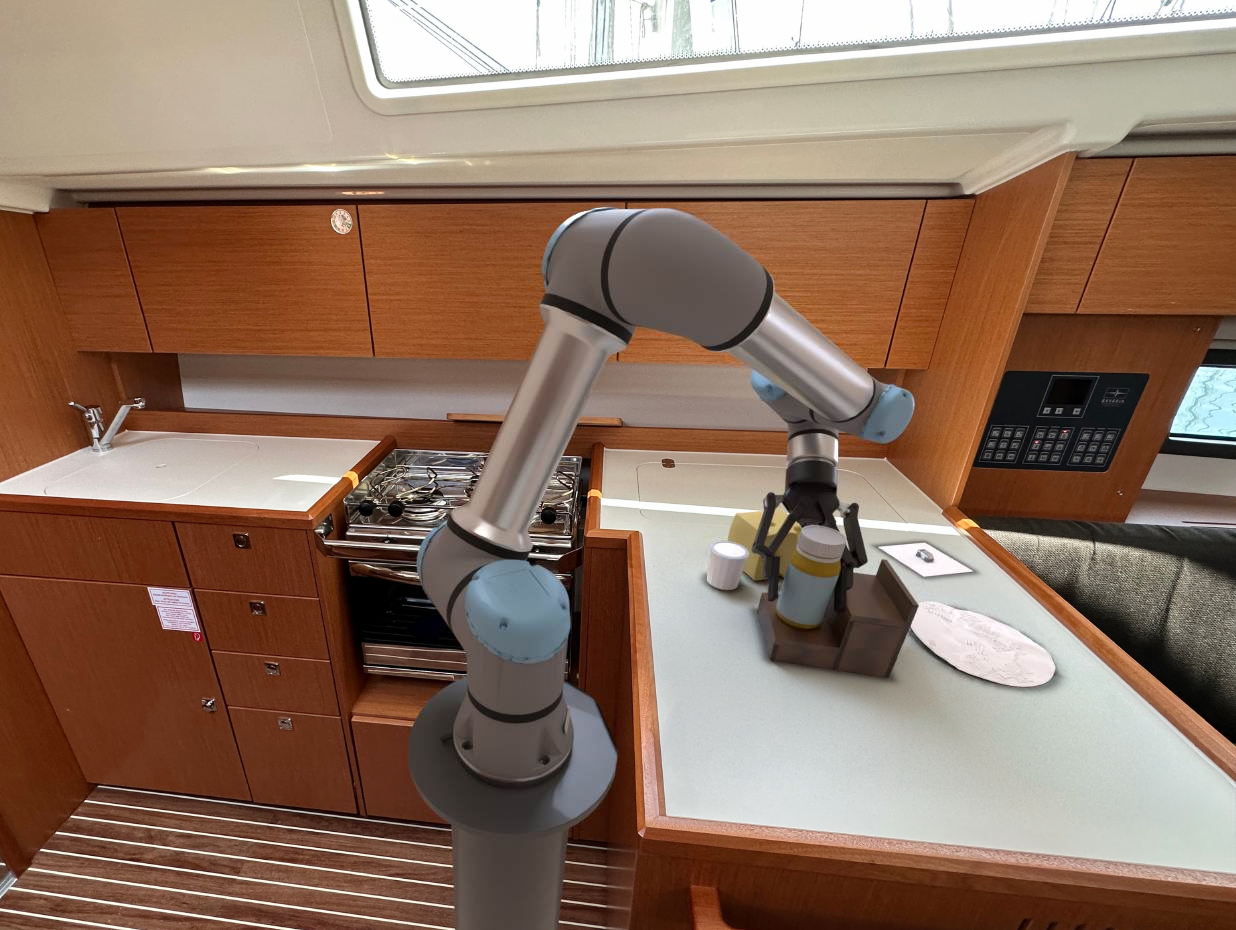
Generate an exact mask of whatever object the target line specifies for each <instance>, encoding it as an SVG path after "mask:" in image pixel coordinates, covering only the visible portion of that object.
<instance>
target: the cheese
mask: <svg viewBox="0 0 1236 930" xmlns="http://www.w3.org/2000/svg"><path fill="white" fill-rule="evenodd" d="M763 512H764V510H758V511H748V512H736V513H735V515H734V517H733V519H732V523H731V524H730V528H729V531H728V537H727V541H730V542H734V543H738V544H740V545H742V546H744V547H745V548H746V549H748V551H749V556H748V559H747V561H746V564H745V567H744V570H743V572H744V573H745V574H746V575H747V576H749V577H750V579H752V580H753V581H754V582H755V581H762V580H764V581H765V580H769V578H764V577H763V575H762V574H763V559H762V556H761V555H759V554H755V553H753V552H752V551H751V549H752V546H753V543H754V539H755V536H756V533H757V530H758V527H759V524H760V521H761V518H762V515H763ZM788 515H789V513H788V512H786V511H784V510H783V509H781V508H780V507H777V508H776V509H775V512H774V515H773V519H772V522H771V525H770V528H769V531H768V534H767V537H766V540H765V543H764V545H765V546H767V547H768V546H769V544H770V543H771V541H772V540H773V538H774V537H775V535H776V534H777V532H778V531H779V529H780V528H781V526H782V524H783V523H784V521H785V519H786V518H787V516H788ZM801 530H802V527H801V525H800V524H799V523H797V522H795V523H794V525H793V527H792V528H791V530H790V531H789V533H788V534H787V536H786V537H785V539H784V540H783V542H782V543H781V545H780V546H779V548H778V549H777V551H776V553H775V554H774V556H780V570H779V577H782V578H785V574H786V570H787V567H788V563H789V560H790V557H791V554H792V553H793V552H794V550H795V549H796V547H797V544H798V539H799V536H800V532H801Z"/></svg>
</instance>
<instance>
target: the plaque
mask: <svg viewBox="0 0 1236 930" xmlns="http://www.w3.org/2000/svg"><path fill="white" fill-rule="evenodd" d="M918 605H919V607H918V609H917V612H916V614H915V617H914V619H913V621H912V624H911V626H910V629H911V630H912V631H913V633H914V634H915V635H916V636H917V637H918V639H919V640H920V641H921V642H922V643H923V644H924V645H925V646H926V647H927V648H929V650H931V651H932V652H933V653H934V654H935V655H936V656H939V657H940V658H942V659H943V660H944V661H946V662H948V663H949V664H950V665H952V666H954V667H955V668H956V669H957V670H959V671H962V672H964V673H967V674H969V675H972V676H974V677H979V678H981V679H983V680H988V681H990V682H994V683H997V684H1001V685H1006V686H1009V687H1010V686H1011V687H1021V688H1022V687H1023V688H1024V687H1025V688H1027V687H1037V686H1042V685H1044V684H1046V683H1048V682H1049V681H1051V679H1053V676H1054V673H1055V672H1056V665H1055V662H1054V661H1053V660H1054V659H1053V658H1052V655H1051V654H1050V653H1049V652H1048V651H1047V650H1046V649H1045V648H1044V647H1042V646H1041V645H1039V644H1038V643H1036V642H1034V640H1032V639H1031V638H1029V637H1027V636H1026V635H1024V634H1023V633H1021V632H1020V631H1019V630H1017V629H1015V628H1013V627H1011V626H1009V625H1007V624H1005V623H1002V622H1001V621H998V620H995V619H994V618H991V617H988V616H986V615H984V614H981V613H978V612H975V611H971V610H964V609H958V608H955V607H953V606H949V605H946V604H943V603H942V602H939V601H922V602H919V603H918Z"/></svg>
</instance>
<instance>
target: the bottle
mask: <svg viewBox="0 0 1236 930" xmlns="http://www.w3.org/2000/svg"><path fill="white" fill-rule="evenodd" d="M845 545H847V538H846V535H844V533H842V532H838V531H836V530H834V529H831V528H828V527H824V526H817V525H810V526H805V527H803V528H802V530H801V532H800V536H799V539H798V544H797V547H796V549H795V550H794V552H793V553H792V554H791V557H790V560H789V563H788V567H787V570H786V574H785V577H783V581H782V584H781V588H780V591H779V594H778V595H779V599H778V602H777V607H776V612H777V614H778V616H779V617H780V619H781V620H782V621H783V622H785V623H786V624H788V625H790V626H792V627H795V628H799V629H805V630H808V629H814V628H817V627H819V626H821V625H822V623H823V621H824V619H825V616H826V613H827V610H828V607H829V604H830V601H831V598H832V595H833V592H834V588H835V585H836V582H837V579H838V576H839V573H840V570H841V564H840V559H841V556H842V553H843V551H844V548H845Z"/></svg>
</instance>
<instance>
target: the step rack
mask: <svg viewBox="0 0 1236 930" xmlns="http://www.w3.org/2000/svg"><path fill="white" fill-rule="evenodd" d="M779 595H780V594H778V598H777V599H776V600H774V601H773V602H771V601H768V592H761V594H760V599H759V603H758V606H757V610H756V613H757V617H758V620H759V624H760V628H761V632H762V636H763V639H764V643H765V647H766V651H767V655H768V658H769V660H770V661H776V662H782V663H790V664H795V665H803V666H807V667H815V668H822V669H828V670H834V671H842V672H847V673H856V674H861V675H867V676H874V677H881V678H887V679H888V678H889V679H890V677H891V674H892V672H893V669H894V667H895V665H896V662H897V659H898V658H899V656H900V653H901V651H902V648H903V646H904V643H905V640H906V638H907V636H908V633H909V631H910V629H911V624H912V621H913V619H914V617H915V614H916V612H917V609H918V607H919V605H918V604H919V603H918V602H917V600H916V599H915V598H914V596H913V595H912V594H911V592H910V590H909V589H908V588H907V586H906V584H904V582H903V581H902V579H901V578H900V576H899V575H898V573H897V572H896V571H895V569H894V567H893V566H892V564H891V563H890V562H889V560H888V559H884V558H882V559H881V560H880V562H879V566H878V568H877V572H876V574H869V573H861V572H854V571H853V587H852V588H851V589H849V590H847V602H846V609H844V610H842V611H840V612H837V611H834V592H833V595H832V598H831V601H830V604H829V607H828V610H827V613H826V616H825V619H824V621H823V623H822V625H821V626H819V627H817V628H814V629H808V630H805V629H799V628H795V627H792V626H790V625H788V624H786V623H785V622H783V621H782V620H781V619H780V617H779V616H778V614H777V612H776V607H777V602H778V599H779Z"/></svg>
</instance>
